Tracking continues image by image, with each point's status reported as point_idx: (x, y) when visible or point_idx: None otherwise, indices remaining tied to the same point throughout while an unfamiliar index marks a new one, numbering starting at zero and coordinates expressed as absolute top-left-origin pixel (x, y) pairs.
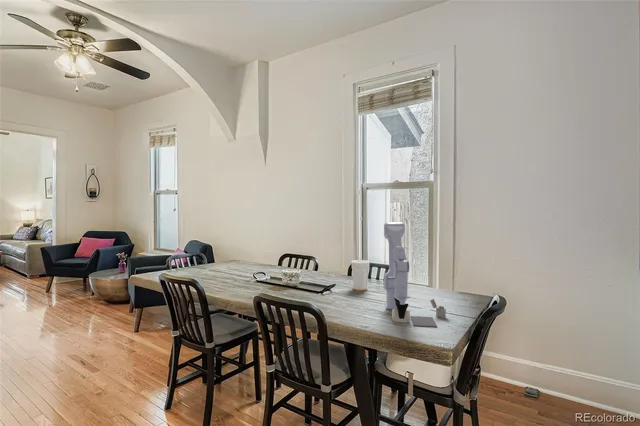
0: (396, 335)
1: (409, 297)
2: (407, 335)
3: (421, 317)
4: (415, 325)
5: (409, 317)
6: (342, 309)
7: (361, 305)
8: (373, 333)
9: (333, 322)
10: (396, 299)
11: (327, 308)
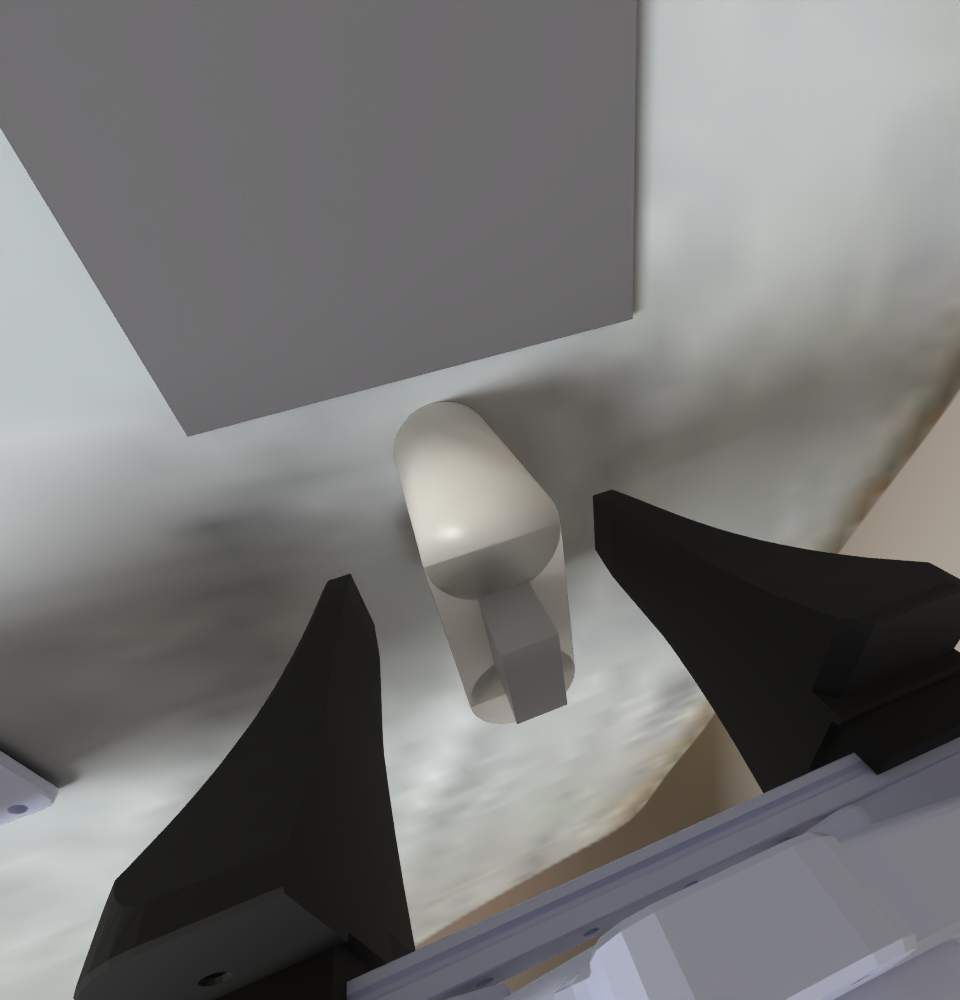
0: (864, 453)
1: (867, 880)
2: (887, 352)
3: (119, 178)
4: (627, 287)
5: (477, 428)
6: None
7: None
8: None
9: (624, 820)
10: (400, 926)
11: None
